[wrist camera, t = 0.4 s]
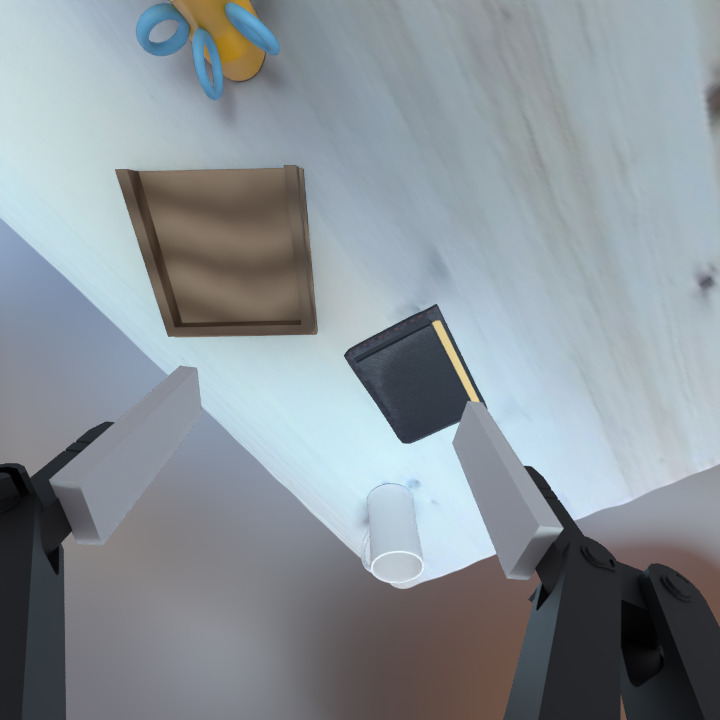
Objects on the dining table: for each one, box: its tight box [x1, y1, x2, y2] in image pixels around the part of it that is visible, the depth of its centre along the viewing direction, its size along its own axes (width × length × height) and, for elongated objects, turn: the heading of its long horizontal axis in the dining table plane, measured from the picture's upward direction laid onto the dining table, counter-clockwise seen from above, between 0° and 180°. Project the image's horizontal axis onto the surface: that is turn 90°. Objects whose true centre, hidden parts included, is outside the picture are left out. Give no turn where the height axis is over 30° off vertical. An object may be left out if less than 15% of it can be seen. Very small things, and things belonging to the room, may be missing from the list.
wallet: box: [344, 304, 487, 444], centre depth 45 cm, size 20×2×15 cm
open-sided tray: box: [115, 165, 317, 337], centre depth 36 cm, size 19×19×3 cm
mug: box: [361, 484, 424, 583], centre depth 51 cm, size 12×8×12 cm
